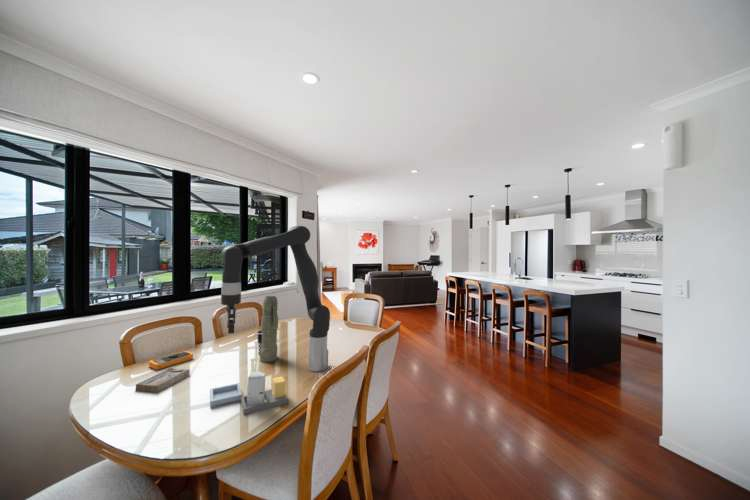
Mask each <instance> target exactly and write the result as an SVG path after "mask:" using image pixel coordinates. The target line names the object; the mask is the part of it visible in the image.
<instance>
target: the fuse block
mask: <svg viewBox="0 0 750 500" xmlns="http://www.w3.org/2000/svg"><path fill="white" fill-rule="evenodd" d="M271 379H272V380H271V381H272V382H271V384H272V385H271V389H269V390H265V395H264V400H265V401H264V403H261V404H257V405H253V406H249V407H247V394H246V395H242V396H241V401H240V405H241V410H242V413H243V414H242V415H247V414H251V413H255V412H259V411H263V410H267V409H271V408H274V407H279V406H282V405H286V404H288V397H287V395H286V380H285V379H284V377H283V376H278V377H272V378H271Z"/></svg>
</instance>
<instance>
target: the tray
mask: <svg viewBox="0 0 750 500" xmlns="http://www.w3.org/2000/svg"><path fill="white" fill-rule="evenodd" d="M241 396H243V392H242V388H241V384H240V383H239V382H237V383H231V384H227V385H223V386H216V387H212V388H210V389H209V406H210V409H211V408H216V407H220V406H225V405H229V404H234V403H238V402H241Z"/></svg>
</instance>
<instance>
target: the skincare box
mask: <svg viewBox="0 0 750 500" xmlns="http://www.w3.org/2000/svg"><path fill="white" fill-rule="evenodd" d="M266 375H267V372H266V371H255V372H250V373H249V375H248V378H247V394H246V395H247V401H246V407H249V406H253V405H257V404H261V403H265V397H264V395H265V391H266Z"/></svg>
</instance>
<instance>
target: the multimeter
mask: <svg viewBox="0 0 750 500" xmlns="http://www.w3.org/2000/svg"><path fill="white" fill-rule="evenodd" d="M193 358H194V353H193V352H191V351H180V352H178V353H173V354H169V355H166V356H163V357H158V358H155V359H152V360H149V361H148V366H149V367H150V368H151V369H153V370H156V371H159V370H162V369H165V368H168V367H171V366H174V365H177V364H181V363H185V362H188V361H191V360H193Z"/></svg>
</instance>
